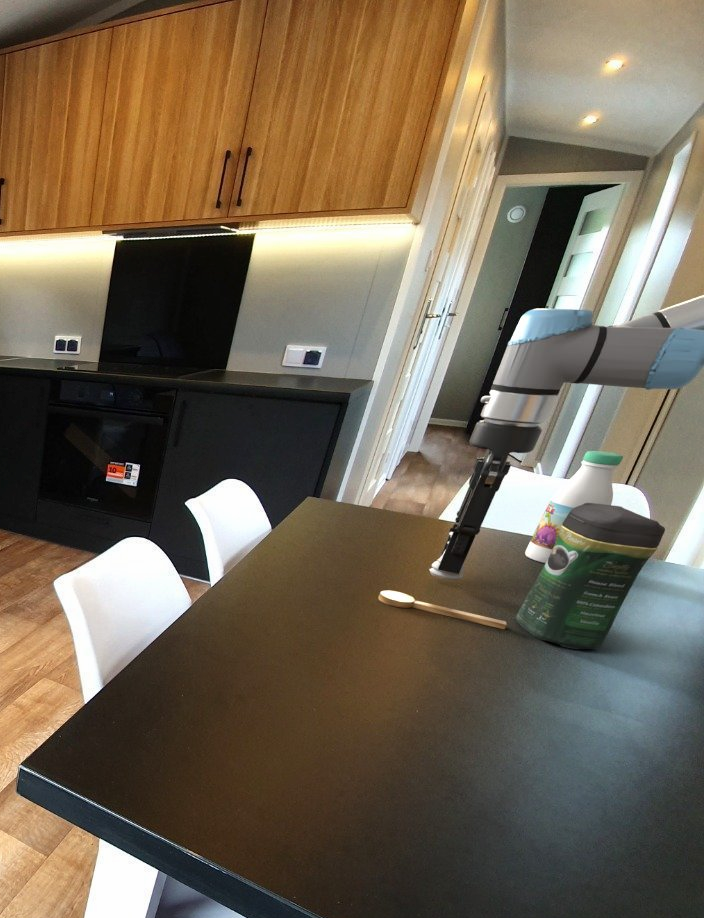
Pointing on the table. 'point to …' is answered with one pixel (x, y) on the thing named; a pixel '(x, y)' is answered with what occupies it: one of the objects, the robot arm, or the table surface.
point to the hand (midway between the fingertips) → (448, 566)
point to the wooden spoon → (436, 609)
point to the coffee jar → (588, 575)
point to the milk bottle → (574, 499)
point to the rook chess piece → (445, 574)
